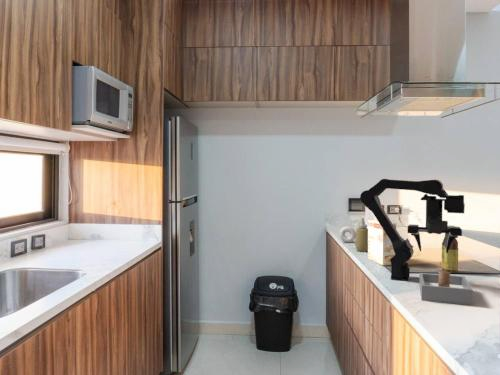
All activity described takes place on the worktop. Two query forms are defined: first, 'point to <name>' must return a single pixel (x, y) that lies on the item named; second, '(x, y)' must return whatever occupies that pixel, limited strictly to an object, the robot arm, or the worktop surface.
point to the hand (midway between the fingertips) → (433, 252)
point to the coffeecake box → (379, 244)
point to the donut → (350, 230)
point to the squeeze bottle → (361, 237)
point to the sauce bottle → (450, 255)
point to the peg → (444, 279)
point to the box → (445, 289)
